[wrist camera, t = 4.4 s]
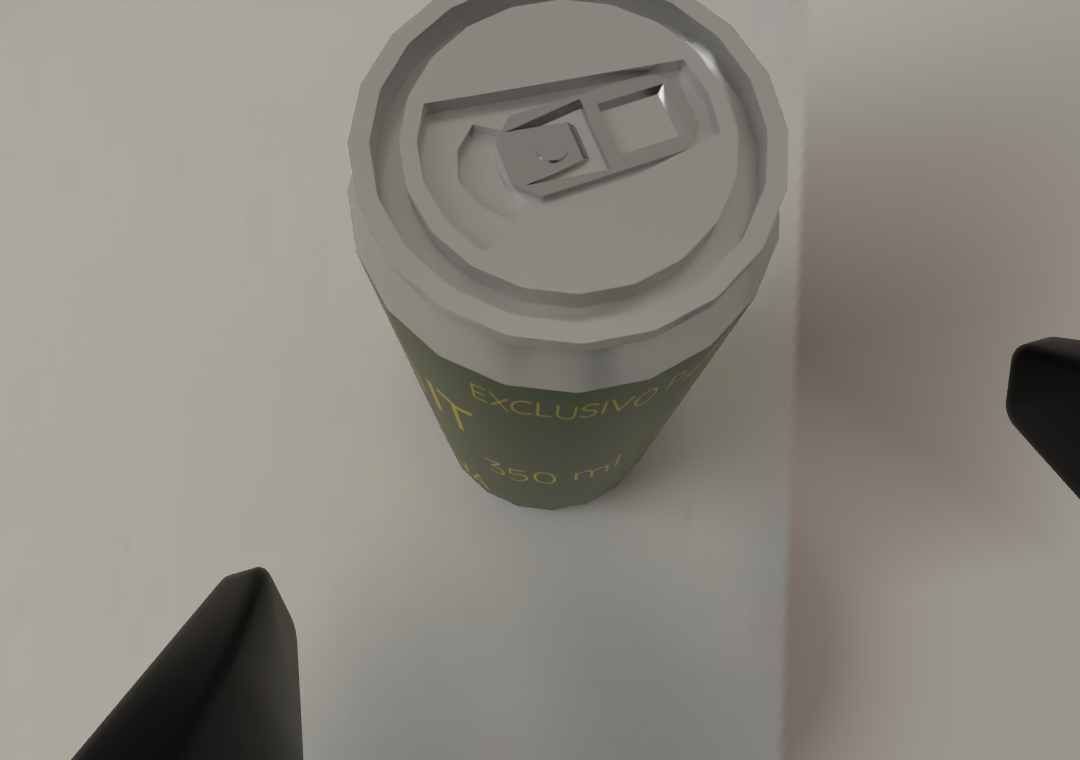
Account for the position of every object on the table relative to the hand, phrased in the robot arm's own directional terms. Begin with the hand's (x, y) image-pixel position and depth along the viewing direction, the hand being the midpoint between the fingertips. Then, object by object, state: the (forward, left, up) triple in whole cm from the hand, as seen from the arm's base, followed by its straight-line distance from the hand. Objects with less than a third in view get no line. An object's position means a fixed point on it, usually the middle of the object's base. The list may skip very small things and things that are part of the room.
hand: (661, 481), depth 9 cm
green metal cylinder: (+2, -3, -11) cm, 11 cm away
